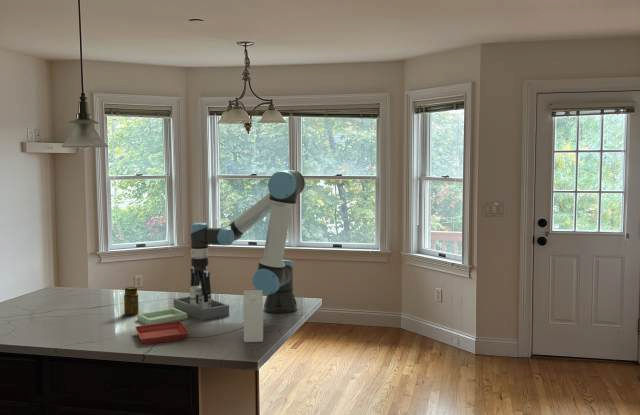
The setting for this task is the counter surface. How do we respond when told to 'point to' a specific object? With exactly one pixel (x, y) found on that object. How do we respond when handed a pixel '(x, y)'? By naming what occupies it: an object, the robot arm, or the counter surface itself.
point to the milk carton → (253, 316)
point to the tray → (162, 316)
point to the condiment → (130, 302)
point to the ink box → (198, 296)
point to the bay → (203, 314)
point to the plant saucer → (162, 332)
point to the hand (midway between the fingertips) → (200, 307)
